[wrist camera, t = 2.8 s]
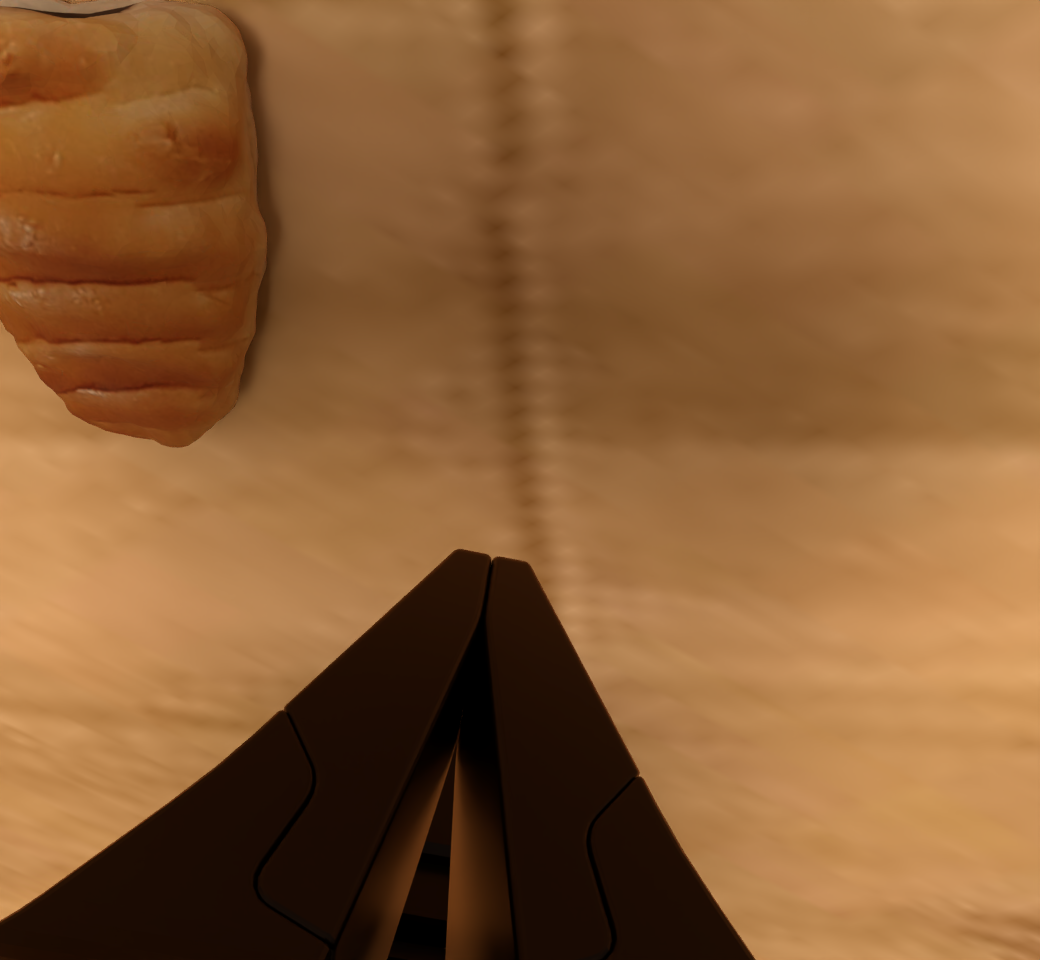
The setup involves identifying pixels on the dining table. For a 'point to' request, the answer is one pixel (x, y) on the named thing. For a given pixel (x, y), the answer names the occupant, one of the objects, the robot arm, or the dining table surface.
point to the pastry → (129, 209)
